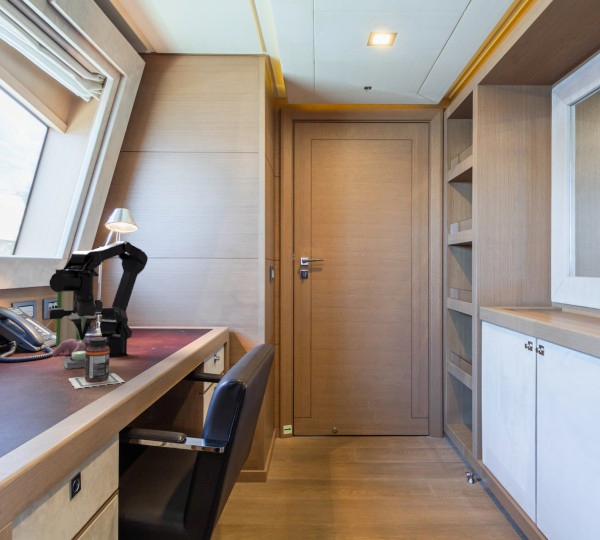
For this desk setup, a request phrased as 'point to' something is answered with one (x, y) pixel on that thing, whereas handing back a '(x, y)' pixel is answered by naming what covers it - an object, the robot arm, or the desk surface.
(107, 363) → the supplement bottle
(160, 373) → the desk surface
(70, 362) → the button housing
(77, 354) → the button
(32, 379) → the desk surface
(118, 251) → the robot arm
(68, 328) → the hardback book
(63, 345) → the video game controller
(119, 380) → the paper sheet
